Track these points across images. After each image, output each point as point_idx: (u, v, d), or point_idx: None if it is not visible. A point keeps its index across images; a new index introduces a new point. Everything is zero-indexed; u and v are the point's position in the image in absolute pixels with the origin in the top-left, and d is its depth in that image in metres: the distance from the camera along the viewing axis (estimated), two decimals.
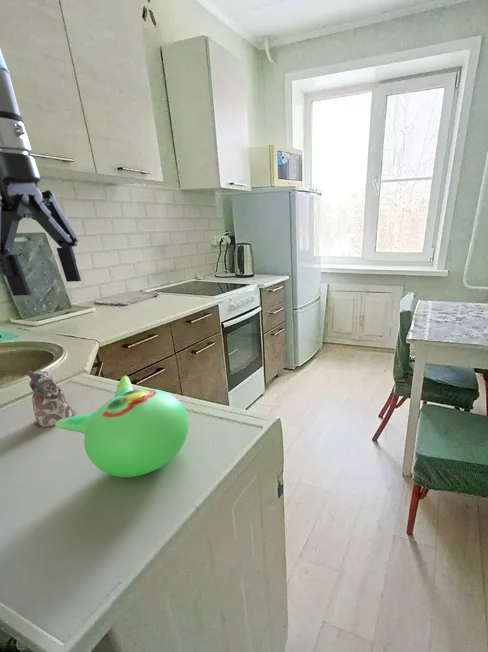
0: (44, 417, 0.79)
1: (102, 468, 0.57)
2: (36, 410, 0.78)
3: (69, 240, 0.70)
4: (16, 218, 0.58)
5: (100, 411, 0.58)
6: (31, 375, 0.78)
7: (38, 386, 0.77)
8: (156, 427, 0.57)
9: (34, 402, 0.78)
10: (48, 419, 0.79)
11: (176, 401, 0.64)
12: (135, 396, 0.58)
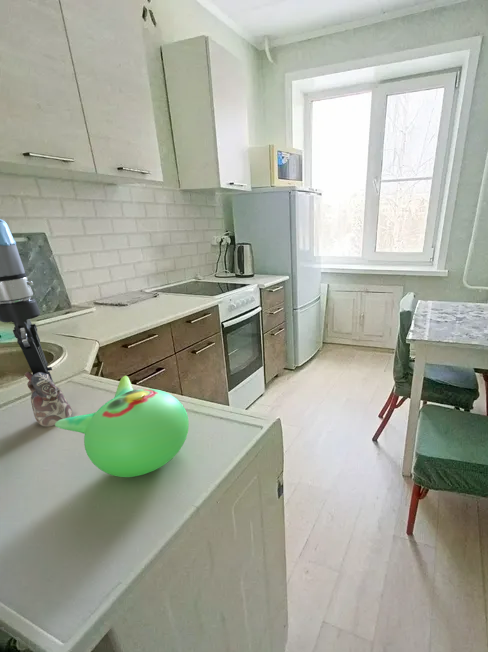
0: (44, 418, 0.78)
1: (102, 468, 0.57)
2: (35, 411, 0.78)
3: (46, 365, 0.82)
4: (38, 346, 0.78)
5: (100, 411, 0.58)
6: (29, 376, 0.76)
7: (37, 389, 0.76)
8: (156, 427, 0.57)
9: (33, 404, 0.77)
10: (48, 420, 0.79)
11: (176, 401, 0.64)
12: (135, 396, 0.58)
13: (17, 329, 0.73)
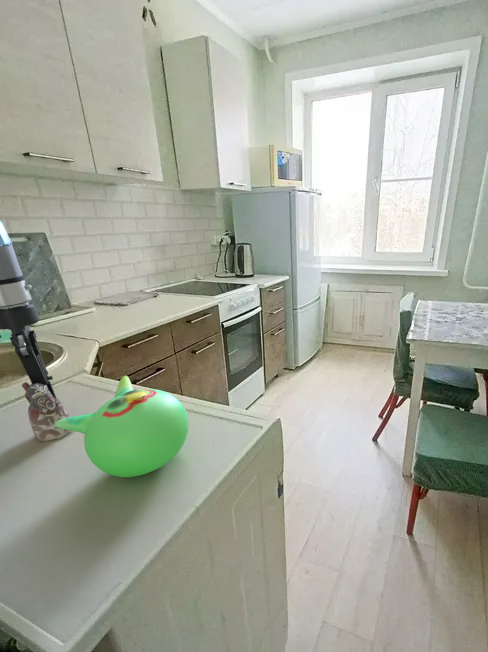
0: (41, 432, 0.73)
1: (102, 468, 0.57)
2: (32, 424, 0.72)
3: (46, 374, 0.77)
4: (37, 355, 0.73)
5: (100, 411, 0.58)
6: (25, 387, 0.71)
7: (32, 401, 0.70)
8: (156, 427, 0.57)
9: (29, 417, 0.72)
10: (45, 434, 0.73)
11: (176, 401, 0.64)
12: (135, 396, 0.58)
13: (14, 337, 0.67)
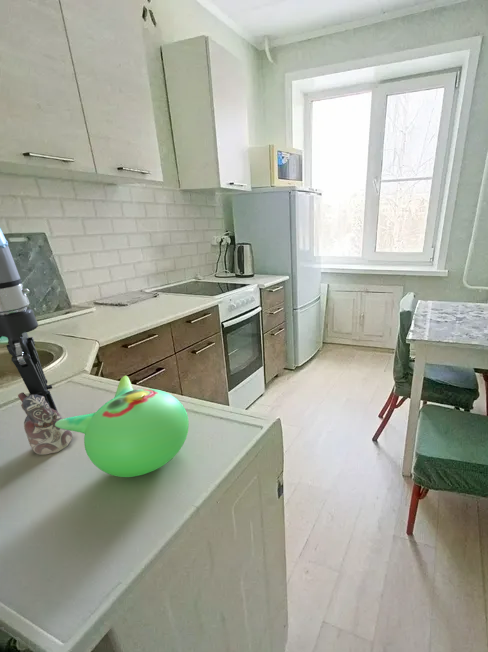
0: (36, 446, 0.69)
1: (102, 468, 0.57)
2: (28, 437, 0.68)
3: (46, 383, 0.73)
4: (35, 363, 0.68)
5: (100, 411, 0.58)
6: (22, 398, 0.66)
7: (28, 413, 0.66)
8: (156, 427, 0.57)
9: (25, 429, 0.67)
10: (41, 448, 0.69)
11: (176, 401, 0.64)
12: (135, 396, 0.58)
13: (11, 345, 0.63)
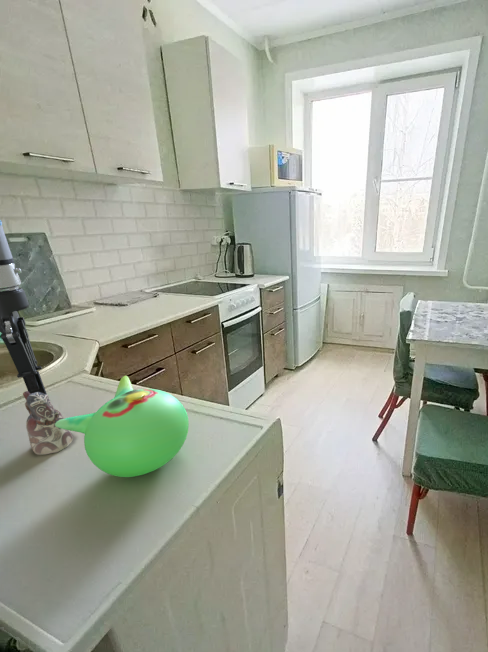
0: (37, 445, 0.69)
1: (102, 468, 0.57)
2: (29, 436, 0.69)
3: (35, 364, 0.74)
4: (25, 343, 0.69)
5: (100, 411, 0.58)
6: (26, 396, 0.68)
7: (31, 410, 0.67)
8: (156, 427, 0.57)
9: (27, 427, 0.68)
10: (41, 447, 0.69)
11: (176, 401, 0.64)
12: (135, 396, 0.58)
13: (1, 322, 0.64)
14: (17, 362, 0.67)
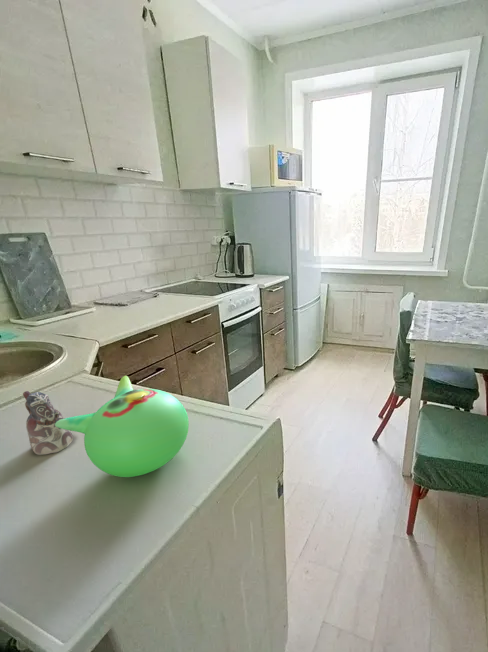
0: (37, 445, 0.69)
1: (102, 468, 0.57)
2: (29, 436, 0.69)
3: None
4: None
5: (100, 411, 0.58)
6: (26, 396, 0.68)
7: (31, 410, 0.67)
8: (156, 427, 0.57)
9: (27, 427, 0.68)
10: (41, 447, 0.69)
11: (176, 401, 0.64)
12: (135, 396, 0.58)
13: None
14: None
